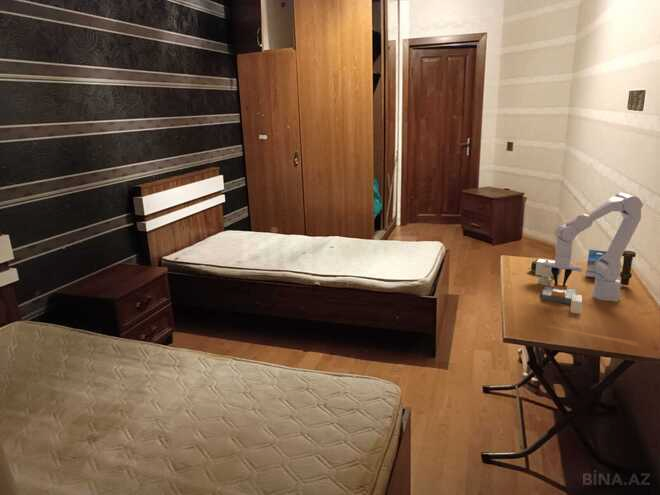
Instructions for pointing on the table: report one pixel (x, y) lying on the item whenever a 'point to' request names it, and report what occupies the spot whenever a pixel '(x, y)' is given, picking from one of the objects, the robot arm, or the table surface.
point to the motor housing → (557, 293)
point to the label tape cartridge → (593, 262)
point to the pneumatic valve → (543, 271)
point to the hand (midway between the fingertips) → (560, 285)
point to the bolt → (627, 267)
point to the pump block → (576, 303)
